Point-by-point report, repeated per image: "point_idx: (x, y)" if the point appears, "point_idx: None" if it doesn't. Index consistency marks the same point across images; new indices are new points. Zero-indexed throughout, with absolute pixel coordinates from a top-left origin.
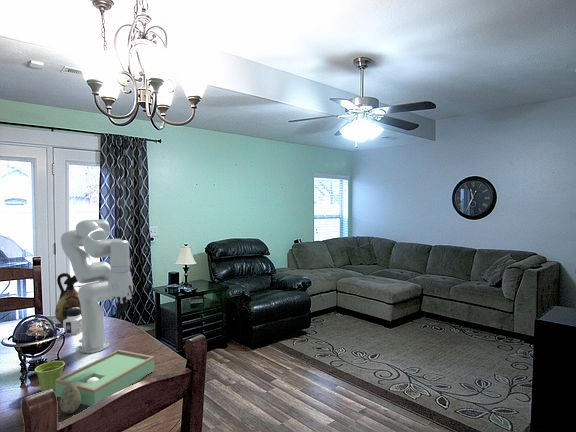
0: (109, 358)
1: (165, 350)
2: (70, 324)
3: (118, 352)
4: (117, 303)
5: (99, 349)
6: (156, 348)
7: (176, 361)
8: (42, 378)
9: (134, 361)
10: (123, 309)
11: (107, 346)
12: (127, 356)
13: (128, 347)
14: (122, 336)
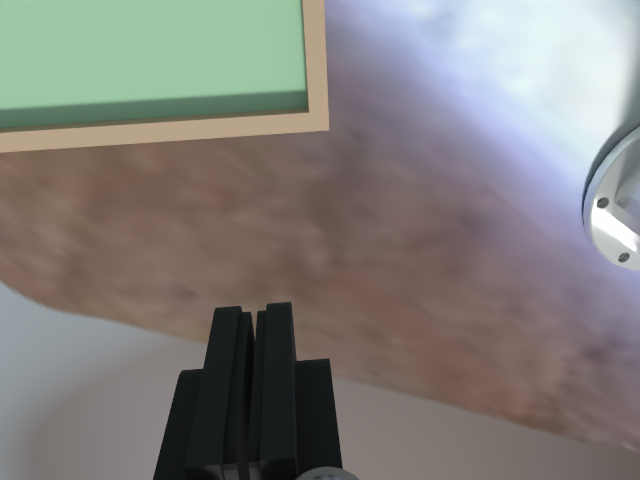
0: (287, 1)
1: None
2: None
3: (307, 109)
4: (283, 458)
5: (602, 175)
6: None
7: (14, 265)
8: None
9: (38, 49)
10: (181, 386)
11: (587, 230)
12: (183, 93)
13: (454, 278)
14: (606, 356)
